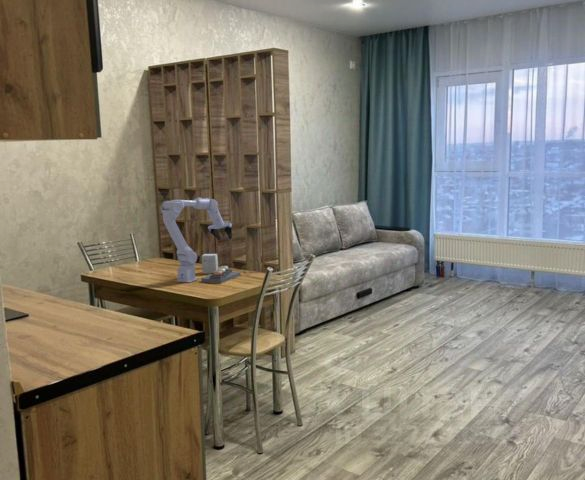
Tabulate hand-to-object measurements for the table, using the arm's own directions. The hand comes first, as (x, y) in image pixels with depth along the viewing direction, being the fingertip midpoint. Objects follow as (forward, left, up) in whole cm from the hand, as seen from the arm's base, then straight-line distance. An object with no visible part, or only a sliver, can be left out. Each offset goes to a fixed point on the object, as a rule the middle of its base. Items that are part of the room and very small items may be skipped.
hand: (225, 238), depth 322 cm
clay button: (-23, -8, -16) cm, 29 cm away
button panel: (-17, -6, -19) cm, 26 cm away
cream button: (-17, -6, -16) cm, 24 cm away
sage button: (-10, -4, -16) cm, 19 cm away
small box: (-4, +9, -19) cm, 22 cm away
